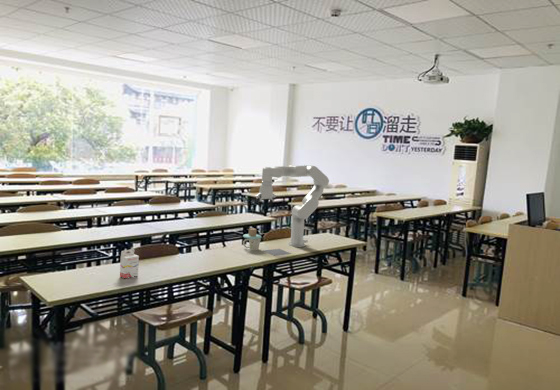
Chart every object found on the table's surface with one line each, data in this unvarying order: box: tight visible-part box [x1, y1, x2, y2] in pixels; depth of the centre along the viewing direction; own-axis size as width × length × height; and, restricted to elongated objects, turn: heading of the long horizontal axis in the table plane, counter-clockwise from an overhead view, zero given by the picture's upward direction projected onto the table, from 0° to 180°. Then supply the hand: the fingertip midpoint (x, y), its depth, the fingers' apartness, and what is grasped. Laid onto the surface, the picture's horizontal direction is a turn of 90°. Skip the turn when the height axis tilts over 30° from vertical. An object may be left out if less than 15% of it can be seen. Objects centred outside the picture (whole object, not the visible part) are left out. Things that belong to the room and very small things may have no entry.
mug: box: [242, 237, 262, 251], centre depth 322 cm, size 8×13×10 cm, turn 89°
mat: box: [262, 248, 292, 257], centre depth 318 cm, size 15×15×1 cm
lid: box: [242, 227, 262, 239], centre depth 321 cm, size 13×13×6 cm
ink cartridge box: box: [119, 248, 140, 279], centre depth 245 cm, size 9×5×15 cm, turn 141°
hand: (265, 206), depth 335 cm, fingers open, 9 cm apart
